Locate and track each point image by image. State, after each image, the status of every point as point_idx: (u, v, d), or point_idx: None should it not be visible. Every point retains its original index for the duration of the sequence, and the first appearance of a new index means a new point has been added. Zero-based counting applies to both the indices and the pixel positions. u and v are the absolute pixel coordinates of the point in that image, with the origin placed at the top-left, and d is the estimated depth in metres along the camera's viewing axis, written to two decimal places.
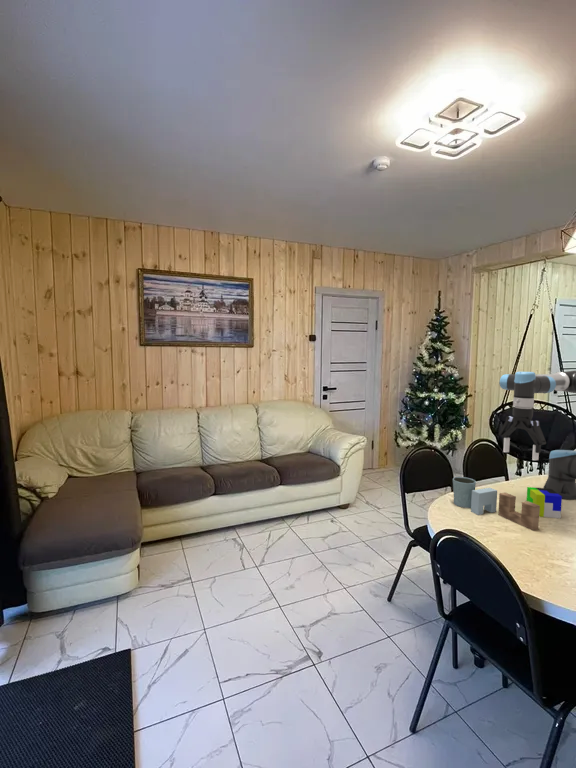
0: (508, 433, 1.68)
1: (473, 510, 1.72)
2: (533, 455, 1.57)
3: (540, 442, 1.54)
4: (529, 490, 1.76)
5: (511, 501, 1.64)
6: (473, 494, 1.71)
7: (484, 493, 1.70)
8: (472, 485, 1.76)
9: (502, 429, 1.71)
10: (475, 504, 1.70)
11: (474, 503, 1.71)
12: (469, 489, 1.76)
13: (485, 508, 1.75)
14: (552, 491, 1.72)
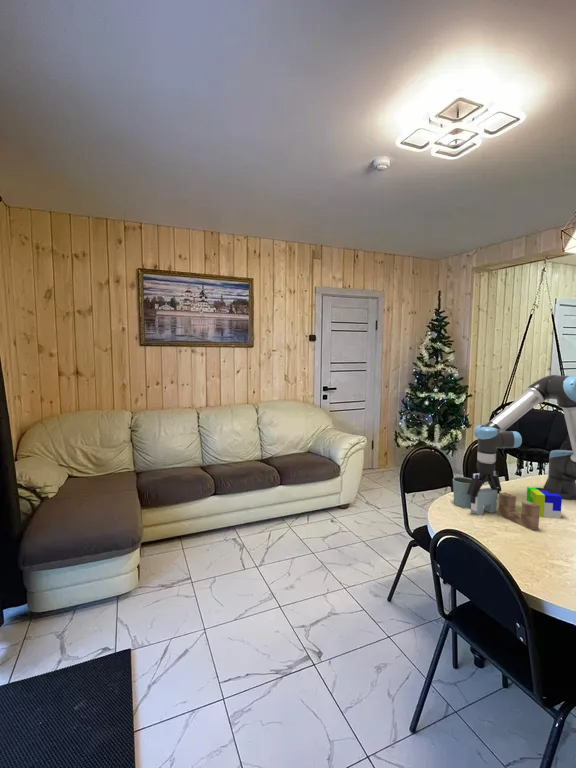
0: (491, 487, 1.75)
1: (473, 510, 1.72)
2: None
3: None
4: (528, 490, 1.76)
5: (511, 501, 1.64)
6: None
7: (484, 493, 1.70)
8: None
9: None
10: None
11: None
12: None
13: (485, 508, 1.75)
14: (552, 491, 1.72)
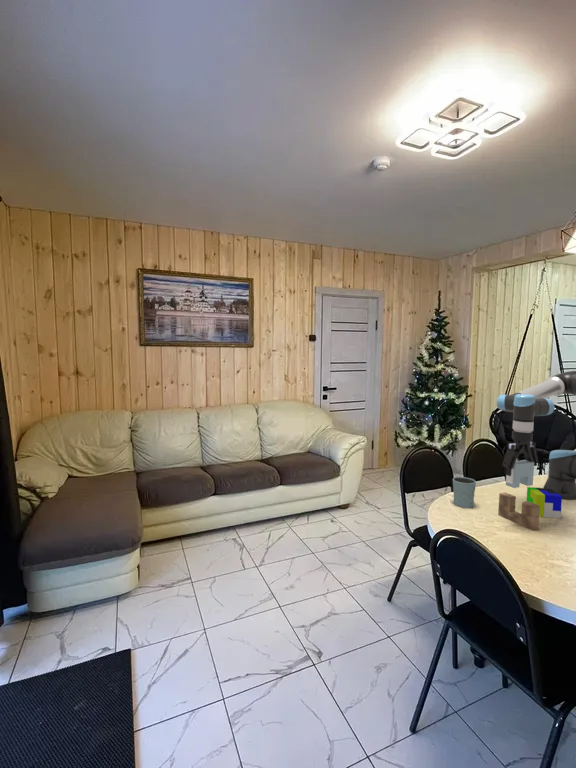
0: (527, 459, 1.63)
1: (508, 484, 1.60)
2: None
3: None
4: (529, 490, 1.76)
5: (511, 501, 1.64)
6: None
7: (521, 465, 1.58)
8: (472, 485, 1.76)
9: None
10: None
11: None
12: (469, 489, 1.76)
13: (520, 482, 1.64)
14: (552, 491, 1.72)
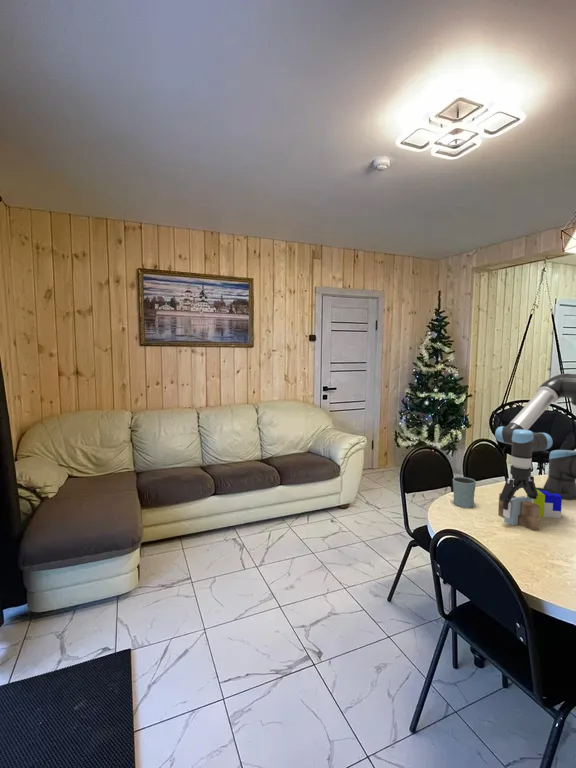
0: (526, 492, 1.65)
1: (507, 521, 1.61)
2: None
3: None
4: None
5: None
6: None
7: (519, 502, 1.59)
8: (472, 485, 1.76)
9: None
10: None
11: None
12: (469, 489, 1.76)
13: None
14: (552, 491, 1.72)
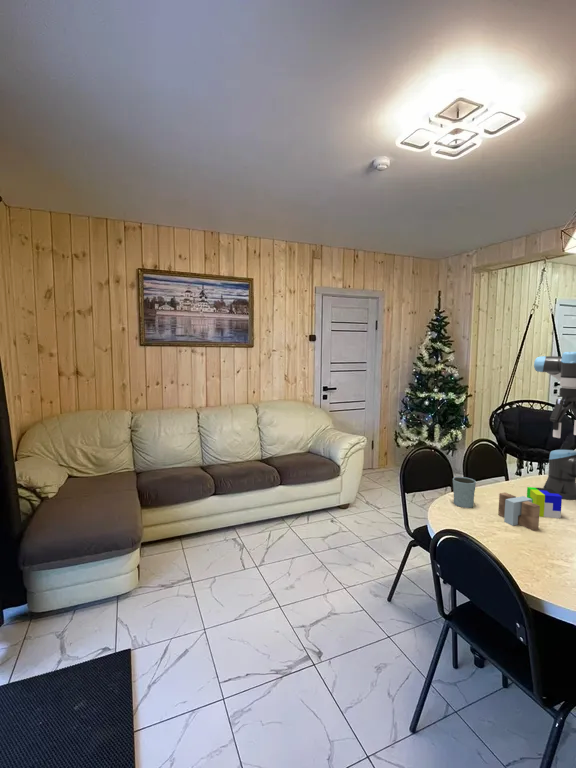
0: (575, 415, 1.66)
1: (507, 521, 1.61)
2: None
3: None
4: (529, 490, 1.76)
5: None
6: (507, 503, 1.61)
7: (519, 502, 1.59)
8: (472, 485, 1.76)
9: None
10: (509, 514, 1.60)
11: (508, 513, 1.61)
12: (469, 489, 1.76)
13: None
14: (552, 491, 1.72)
